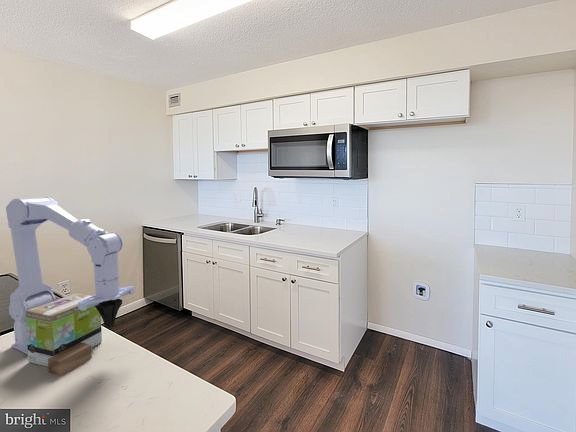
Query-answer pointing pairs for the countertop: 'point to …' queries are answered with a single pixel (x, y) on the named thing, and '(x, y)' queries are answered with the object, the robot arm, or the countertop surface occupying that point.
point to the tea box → (60, 328)
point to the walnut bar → (69, 358)
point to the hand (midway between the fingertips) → (109, 326)
